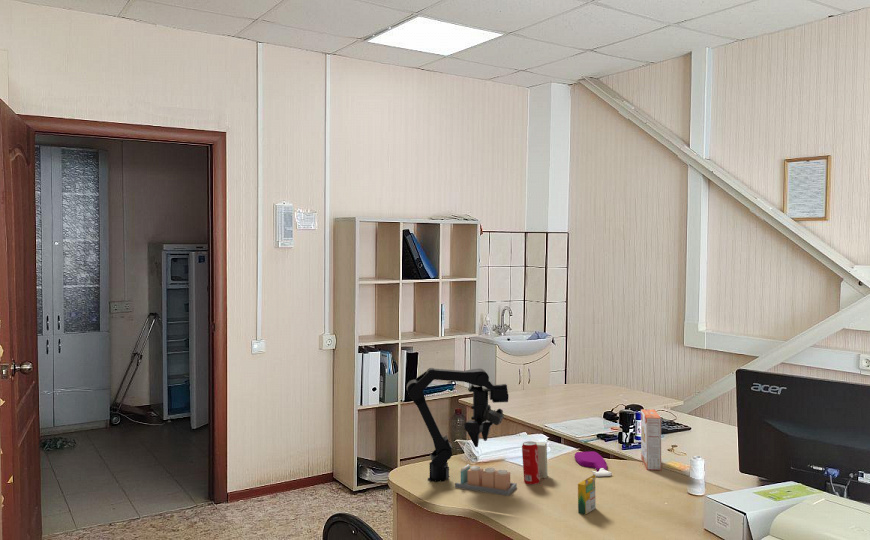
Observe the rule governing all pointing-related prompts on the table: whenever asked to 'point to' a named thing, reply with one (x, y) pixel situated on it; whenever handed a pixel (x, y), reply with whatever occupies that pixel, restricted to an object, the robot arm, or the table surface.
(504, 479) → the front jar
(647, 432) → the cracker box
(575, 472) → the table surface
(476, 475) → the loose jar
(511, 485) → the tray
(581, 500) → the crayon box
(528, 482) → the beverage can
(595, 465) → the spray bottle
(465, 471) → the pusher plate
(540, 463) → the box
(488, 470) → the middle jar
